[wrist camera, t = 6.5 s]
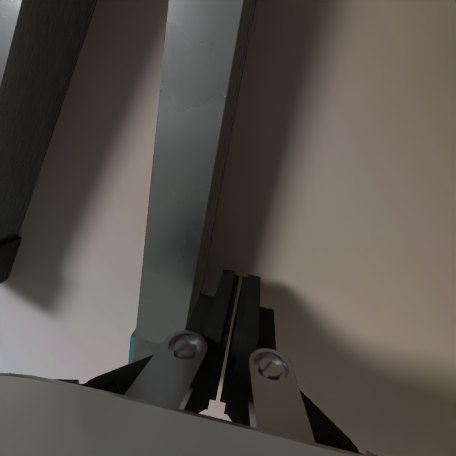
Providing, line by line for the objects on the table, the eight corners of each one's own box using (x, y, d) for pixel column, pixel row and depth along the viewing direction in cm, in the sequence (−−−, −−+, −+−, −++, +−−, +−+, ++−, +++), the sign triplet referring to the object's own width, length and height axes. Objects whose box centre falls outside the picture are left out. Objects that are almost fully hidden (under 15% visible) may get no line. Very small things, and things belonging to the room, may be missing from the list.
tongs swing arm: (146, -281, 8) (47, -636, 4) (312, -258, 8) (357, -612, 4) (110, 330, 15) (64, 390, 12) (192, 351, 15) (171, 418, 11)
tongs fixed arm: (160, -472, 7) (58, -1071, 3) (360, -305, 7) (445, -687, 4) (-34, 255, 15) (-119, 291, 12) (66, 313, 16) (12, 362, 12)
